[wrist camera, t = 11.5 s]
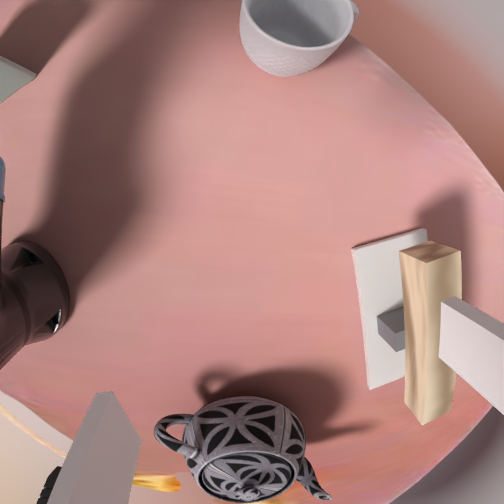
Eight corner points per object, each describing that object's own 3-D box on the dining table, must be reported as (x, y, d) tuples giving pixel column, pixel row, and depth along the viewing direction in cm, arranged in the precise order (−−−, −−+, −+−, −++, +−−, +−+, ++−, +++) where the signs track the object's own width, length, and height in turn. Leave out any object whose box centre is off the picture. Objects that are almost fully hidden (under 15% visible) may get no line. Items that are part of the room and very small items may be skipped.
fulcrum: (367, 386, 46) (384, 411, 39) (351, 248, 41) (373, 260, 34) (427, 361, 47) (448, 381, 40) (422, 227, 41) (451, 235, 34)
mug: (318, 5, 33) (347, -45, 21) (357, 65, 36) (402, 29, 23) (222, 36, 34) (221, -18, 21) (261, 102, 36) (276, 66, 24)
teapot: (285, 478, 51) (298, 536, 36) (141, 424, 45) (122, 490, 30) (350, 420, 48) (380, 479, 33) (193, 348, 43) (181, 417, 28)
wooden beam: (404, 401, 39) (422, 425, 34) (398, 250, 34) (426, 263, 28) (431, 389, 40) (450, 410, 34) (430, 240, 34) (460, 250, 28)
